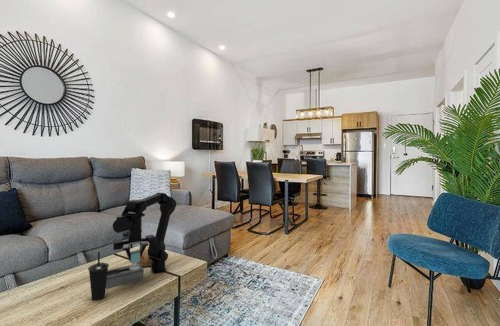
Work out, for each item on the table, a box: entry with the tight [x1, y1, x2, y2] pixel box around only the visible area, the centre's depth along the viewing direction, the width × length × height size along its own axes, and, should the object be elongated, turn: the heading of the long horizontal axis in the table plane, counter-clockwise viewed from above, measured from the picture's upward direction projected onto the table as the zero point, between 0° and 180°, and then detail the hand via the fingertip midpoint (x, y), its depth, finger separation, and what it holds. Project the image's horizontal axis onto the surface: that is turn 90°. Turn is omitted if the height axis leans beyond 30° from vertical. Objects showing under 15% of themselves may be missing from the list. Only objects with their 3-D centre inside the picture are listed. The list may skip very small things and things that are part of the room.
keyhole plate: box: [106, 263, 145, 290], centre depth 125 cm, size 18×9×5 cm, turn 126°
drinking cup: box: [87, 251, 110, 302], centre depth 109 cm, size 8×8×20 cm
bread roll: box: [137, 248, 152, 267], centre depth 145 cm, size 10×15×8 cm, turn 47°
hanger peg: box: [129, 249, 140, 270], centre depth 120 cm, size 4×4×8 cm
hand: (134, 259), depth 120 cm, fingers closed on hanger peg, 4 cm apart
